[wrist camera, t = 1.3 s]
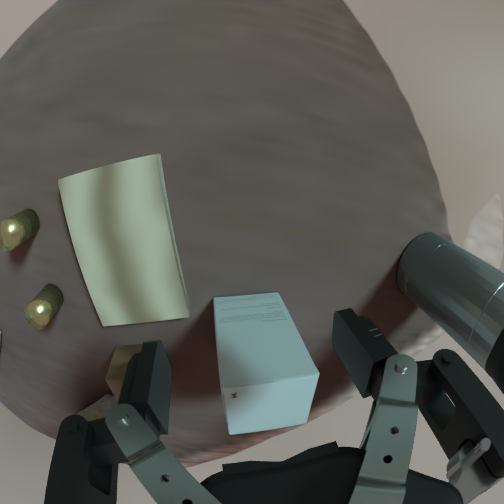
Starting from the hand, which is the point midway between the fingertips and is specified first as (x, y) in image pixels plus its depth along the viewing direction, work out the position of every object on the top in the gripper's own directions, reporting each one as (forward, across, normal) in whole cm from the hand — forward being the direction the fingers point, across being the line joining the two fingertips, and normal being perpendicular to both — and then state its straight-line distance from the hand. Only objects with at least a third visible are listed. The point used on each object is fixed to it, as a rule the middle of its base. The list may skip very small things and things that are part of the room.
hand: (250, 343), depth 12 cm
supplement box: (+16, -1, +11) cm, 19 cm away
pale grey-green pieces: (+17, +10, 0) cm, 19 cm away
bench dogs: (+16, +22, 0) cm, 27 cm away
